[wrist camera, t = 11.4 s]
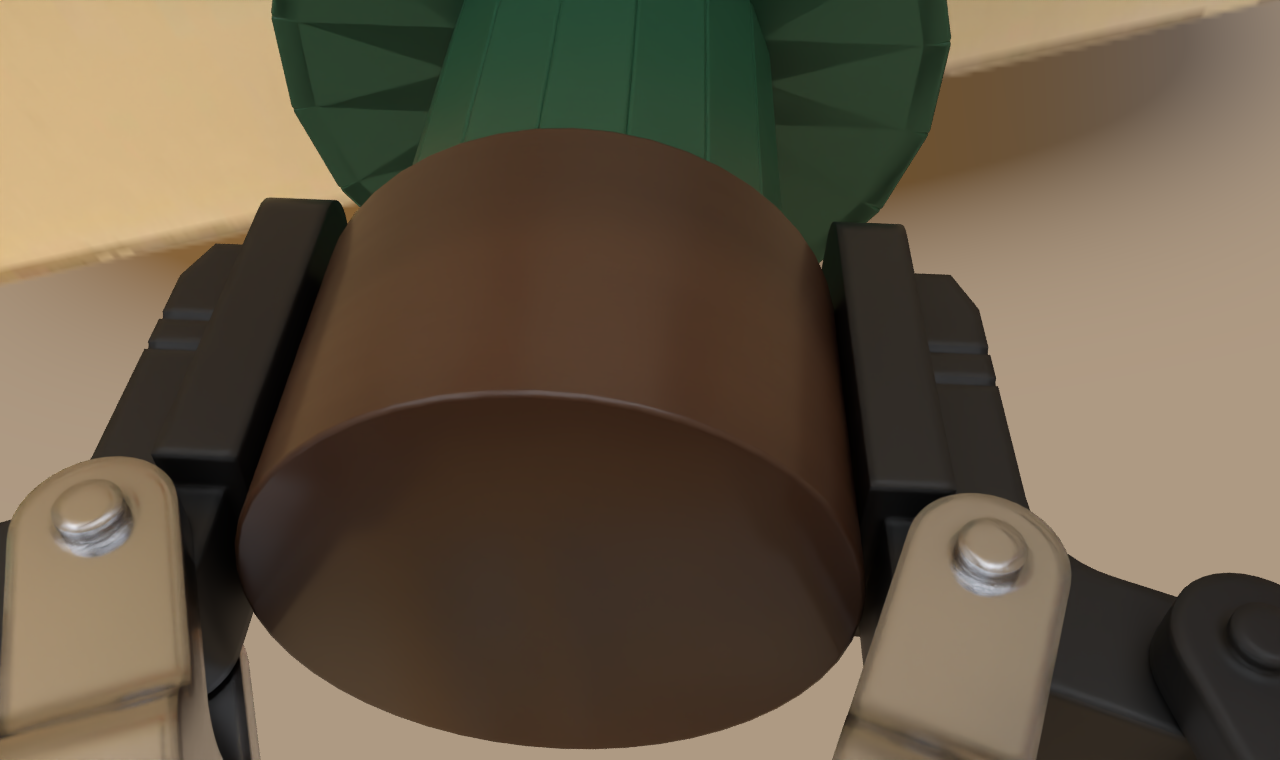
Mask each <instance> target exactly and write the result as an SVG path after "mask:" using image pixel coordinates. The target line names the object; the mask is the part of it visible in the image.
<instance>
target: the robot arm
mask: <svg viewBox="0 0 1280 760" xmlns="http://www.w3.org/2000/svg"><path fill="white" fill-rule="evenodd" d="M346 226H347V220H346V216H345V213H344V209H343V207H342V205H341V204H340V202H339V201H337V200H316V199H291V198H266V199H265V200H264V201H263V202H262V203H261V205H260V207H259V209H258V211H257V213H256V215H255V218H254V220H253V222H252V225H251V227H250V229H249V231H248V234H247V236H246V238H245V240H244V243H243V245H238V244H215V245H214V246H212V247H211V248H210V249H209V250H208V251H207V252H206V253H205V254H204V255H202V256H201V257H200V258H199V259H198V260H197V261H196V262H195V263H193V265H191V266H190V267H189V268H188V269H187V270H186V271H184V272H183V273H182V274H181V275H180V277H179V279H178V281H177V283H176V285H175V287H174V289H173V291H172V294H171V295H170V298H169V300H168V302H167V304H166V306H165V308H164V310H163V319H159V320H158V322H157V324H156V327H155V328H154V331H153V332H152V334H151V337H150V339H149V341H148V343H149V348H148V349H144V351H143V353H142V355H141V357H140V359H139V361H138V363H137V365H136V367H135V370H134V372H133V374H132V376H131V378H130V380H129V382H128V384H127V386H126V388H125V390H124V392H123V395H122V396H121V398H120V400H119V402H118V404H117V406H116V409H115V411H114V413H113V415H112V417H111V419H110V421H109V423H108V425H107V427H106V429H105V431H104V433H103V435H102V437H101V440H100V442H99V444H98V446H97V448H96V450H95V452H94V454H93V456H92V458H91V459H90V460H88V461H84V462H80V463H78V464H75V465H72V466H70V467H68V468H65V469H63V470H61V471H59V472H58V473H56V474H54V475H52V476H51V477H49V478H48V479H46V480H45V481H43V482H42V483H41V484H39V485H38V486H37V487H36V488H35V489H34V490H33V491H31V493H29V494H28V495H27V497H26V498H25V499H24V500H23V501H22V503H21V504H20V505H19V507H18V508H17V510H16V512H15V514H14V515H13V517H12V519H11V520H8V521H5V522H1V523H0V760H260V753H259V744H258V735H257V728H256V719H255V711H254V702H253V694H252V685H251V678H250V669H249V661H248V656H247V652H246V650H245V648H244V645H243V643H244V640H245V637H246V633H247V630H248V627H249V623H250V621H251V618H252V614H253V610H252V608H251V606H250V604H249V602H248V600H247V598H246V596H245V594H244V593H243V589H242V586H241V582H240V579H239V576H238V572H237V568H236V557H235V536H236V531H237V525H238V519H239V516H240V513H241V510H242V507H243V505H244V502H245V499H246V496H247V493H248V490H249V487H250V485H251V482H252V479H253V476H254V473H255V470H256V468H257V465H258V462H259V459H260V456H261V453H262V451H263V448H264V445H265V442H266V439H267V436H268V433H269V431H270V428H271V425H272V422H273V419H274V416H275V414H276V411H277V408H278V405H279V402H280V399H281V397H282V394H283V391H284V388H285V385H286V382H287V380H288V377H289V374H290V371H291V368H292V365H293V362H294V360H295V357H296V354H297V351H298V348H299V345H300V343H301V340H302V337H303V334H304V331H305V328H306V326H307V323H308V320H309V317H310V314H311V311H312V309H313V306H314V303H315V300H316V297H317V294H318V291H319V289H320V286H321V283H322V280H323V277H324V274H325V272H326V269H327V266H328V263H329V260H330V258H331V256H332V253H333V251H334V248H335V246H336V244H337V241H338V239H339V237H340V235H341V233H342V232H343V230H344V229H345V227H346ZM822 271H823V274H824V276H825V278H826V280H827V283H828V287H829V291H830V295H831V299H832V303H833V307H834V315H835V324H836V332H837V341H838V349H839V357H840V366H841V374H842V383H843V391H844V400H845V408H846V416H847V425H848V433H849V442H850V450H851V459H852V467H853V475H854V484H855V492H856V501H857V509H858V518H859V526H860V534H861V543H862V551H863V560H864V568H865V583H866V597H865V603H864V608H863V614H862V618H861V620H860V623H859V625H858V628H857V630H856V632H855V635H854V636H859V637H860V638H861V648H862V658H863V670H862V673H861V676H860V679H859V682H858V685H857V688H856V691H855V694H854V697H853V700H852V704H851V707H850V709H849V712H848V715H847V717H846V720H845V723H844V726H843V729H842V732H841V735H840V738H839V741H838V744H837V747H836V750H835V753H834V756H833V759H832V760H1280V585H1279V584H1277V583H1274V582H1272V581H1269V580H1266V579H1262V578H1260V577H1256V576H1251V575H1246V574H1238V573H1220V574H1212V575H1208V576H1205V577H1202V578H1200V579H1198V580H1195V581H1193V582H1192V583H1190V584H1189V585H1188V586H1186V587H1185V588H1184V589H1183V590H1182V592H1181V593H1180V594H1179V596H1178V597H1175V596H1172V595H1169V594H1166V593H1163V592H1160V591H1156V590H1153V589H1150V588H1147V587H1144V586H1140V585H1138V584H1135V583H1131V582H1128V581H1125V580H1122V579H1119V578H1116V577H1112V576H1110V575H1107V574H1105V573H1102V572H1099V571H1097V570H1095V569H1093V568H1091V567H1088V566H1087V565H1085V564H1083V563H1081V562H1079V561H1078V560H1076V559H1074V558H1073V557H1072V556H1070V555H1069V554H1067V552H1066V549H1065V548H1064V546H1063V544H1062V542H1061V540H1060V539H1059V537H1058V536H1057V535H1056V534H1055V532H1054V531H1053V530H1052V529H1051V528H1050V527H1049V526H1048V525H1047V524H1046V523H1045V522H1044V521H1043V520H1042V519H1040V518H1039V517H1038V516H1037V515H1035V514H1034V513H1033V512H1031V511H1030V509H1029V506H1028V503H1027V500H1026V497H1025V493H1024V489H1023V485H1022V481H1021V477H1020V473H1019V469H1018V465H1017V461H1016V457H1015V453H1014V449H1013V445H1012V441H1011V437H1010V433H1009V429H1008V425H1007V421H1006V416H1005V413H1004V408H1003V404H1002V400H1001V396H1000V392H999V388H998V386H996V385H995V381H996V376H995V372H994V368H993V364H992V361H991V356H990V355H988V344H987V340H986V336H985V332H984V328H983V325H982V320H981V316H980V312H979V309H978V308H977V307H976V305H975V304H974V303H973V302H972V300H971V299H970V298H969V297H968V296H967V294H966V293H965V292H964V291H963V290H962V288H961V287H960V286H959V285H958V283H957V282H956V281H955V280H954V279H953V277H952V276H951V275H939V274H916V273H914V269H913V264H912V259H911V254H910V249H909V243H908V238H907V234H906V230H905V228H904V226H903V225H901V224H880V223H855V222H832V224H831V226H830V229H829V233H828V237H827V242H826V248H825V254H824V259H823V265H822Z"/></svg>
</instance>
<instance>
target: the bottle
mask: <svg viewBox="0 0 1280 760" xmlns="http://www.w3.org/2000/svg"><path fill="white" fill-rule="evenodd" d="M271 13H272V22H273V27H274V31H275V35H276V40H277V44H278V48H279V53H280V57H281V61H282V66H283V70H284V74H285V79H286V83H287V87H288V92H289V96H290V100H291V105H292V107H293V108H294V112H295V114H296V116H297V117H298V119H299V121H300V122H301V124H302V126H303V127H304V129H305V131H306V132H307V134H308V136H309V137H310V139H311V141H312V142H313V144H314V146H315V147H316V149H317V151H318V153H319V154H320V156H321V158H322V159H323V161H324V163H325V164H326V166H327V168H328V169H329V171H330V173H331V174H332V176H333V178H334V179H335V181H336V183H337V184H338V186H339V187H341V189H342V191H343V192H344V193H345V194H346V195H347V196H348V197H349V198H351V199H352V200H353V201H354V202H355V203H356V204H357V205H358V206H359V207H361V206H362V205H363V204H364V203H365V202H366V201H367V200H368V199H369V197H370V196H371V195H372V194H373V193H374V192H375V191H377V190H378V189H379V188H380V187H382V186H383V185H384V184H386V183H387V182H388V181H389V180H391V179H392V178H393V177H395V176H396V175H397V174H398V173H400V172H401V171H403V170H405V169H407V168H409V167H410V166H412V165H414V164H416V163H417V162H419V161H421V160H423V159H424V158H426V157H428V156H430V155H432V154H435V153H437V152H440V151H442V150H445V149H447V148H450V147H452V146H455V145H458V144H460V143H463V142H467V141H470V140H474V139H478V138H482V137H486V136H490V135H494V134H498V133H505V132H513V131H520V130H528V129H536V128H581V129H592V130H602V131H613V132H618V133H623V134H627V135H632V136H637V137H642V138H647V139H651V140H654V141H657V142H660V143H663V144H666V145H669V146H673V147H676V148H679V149H682V150H685V151H688V152H690V153H692V154H694V155H696V156H698V157H700V158H703V159H705V160H707V161H709V162H711V163H713V164H716V165H718V166H720V167H722V168H723V169H725V170H726V171H728V172H730V173H731V174H733V175H735V176H736V177H738V178H739V179H741V180H743V181H744V182H746V183H747V184H749V185H751V186H752V187H753V188H754V189H755V190H757V191H758V192H759V193H760V194H762V195H763V196H764V197H765V198H766V199H768V200H769V201H770V202H771V203H772V204H774V205H775V206H776V207H777V208H778V209H779V210H780V211H781V212H782V213H783V214H784V216H785V217H786V218H787V219H788V220H789V221H790V222H791V223H792V224H793V225H794V226H795V228H796V229H797V230H798V231H799V232H800V234H801V235H802V237H803V238H804V240H805V241H806V243H807V244H808V245H809V247H810V248H811V250H812V251H813V253H814V254H815V256H816V258H817V260H818V263H820V262H821V261H822V260H823V259H824V254H825V248H826V242H827V237H828V233H829V229H830V226H831V224H832V222H855V223H866V222H868V221H869V220H870V219H871V218H872V217H873V216H874V215H876V214H877V213H878V212H879V210H880V209H881V208H882V207H883V206H884V204H885V203H886V201H887V200H888V198H889V196H890V195H891V193H892V192H893V190H894V188H895V187H896V185H897V184H898V182H899V181H900V179H901V177H902V176H903V174H904V173H905V171H906V169H907V168H908V166H909V165H910V163H911V161H912V160H913V158H914V157H915V155H916V154H917V152H918V150H919V149H920V147H921V146H922V144H923V143H924V141H925V139H926V138H927V136H928V133H929V131H930V129H931V125H932V120H933V116H934V112H935V108H936V103H937V99H938V95H939V91H940V87H941V83H942V78H943V74H944V70H945V66H946V62H947V58H948V53H949V49H950V45H951V43H950V39H951V32H950V24H949V15H948V7H947V0H272V9H271Z"/></svg>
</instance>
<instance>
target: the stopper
mask: <svg viewBox="0 0 1280 760" xmlns="http://www.w3.org/2000/svg"><path fill="white" fill-rule="evenodd" d="M235 557H236V568H237V572H238V576H239V579H240V582H241V586H242V589H243V593H244V594H245V596H246V598H247V600H248V602H249V604H250V606H251V608H252V610H253V612H254V613H255V615H256V616H257V618H258V619H259V620H260V622H261V623H262V624H263V626H264V627H265V628H266V629H267V631H268V632H269V634H270V635H271V636H272V637H273V638H274V639H275V640H276V641H277V642H278V643H279V644H280V645H281V646H282V647H283V648H284V649H285V650H286V651H287V652H288V653H289V654H290V655H291V656H293V657H294V658H295V659H296V660H298V661H299V662H300V663H301V664H303V665H304V666H305V667H307V668H308V669H309V670H310V671H312V672H313V673H314V674H316V675H318V676H319V677H321V678H322V679H324V680H326V681H327V682H329V683H330V684H332V685H333V686H335V687H337V688H338V689H340V690H342V691H344V692H346V693H348V694H350V695H352V696H354V697H355V698H357V699H359V700H361V701H363V702H365V703H367V704H370V705H372V706H374V707H377V708H379V709H381V710H384V711H386V712H389V713H391V714H393V715H396V716H399V717H401V718H404V719H407V720H410V721H413V722H416V723H419V724H422V725H425V726H428V727H432V728H436V729H440V730H443V731H447V732H451V733H455V734H458V735H463V736H468V737H473V738H478V739H483V740H488V741H493V742H501V743H508V744H515V745H523V746H534V747H546V748H560V749H607V748H628V747H637V746H645V745H655V744H662V743H668V742H674V741H678V740H685V739H690V738H694V737H698V736H702V735H706V734H710V733H713V732H717V731H721V730H724V729H727V728H730V727H733V726H736V725H739V724H742V723H745V722H747V721H750V720H753V719H755V718H757V717H759V716H761V715H763V714H766V713H768V712H770V711H772V710H774V709H777V708H778V707H780V706H782V705H783V704H785V703H787V702H789V701H790V700H792V699H794V698H795V697H797V696H799V695H800V694H802V693H803V692H804V691H805V690H807V689H808V688H809V687H811V686H812V685H813V684H815V683H816V682H817V681H819V680H820V679H821V678H822V677H823V676H824V675H825V674H826V673H827V672H828V671H829V670H830V669H831V668H832V667H833V666H834V665H835V664H836V663H837V662H838V661H839V659H840V658H841V656H842V655H843V653H844V651H845V650H846V649H847V647H848V646H849V644H850V643H851V642H852V640H853V637H854V635H855V632H856V630H857V628H858V625H859V623H860V620H861V618H862V614H863V608H864V603H865V597H866V583H865V568H864V560H863V551H862V543H861V534H860V526H859V518H858V509H857V501H856V492H855V484H854V475H853V467H852V459H851V450H850V442H849V433H848V425H847V416H846V408H845V400H844V391H843V383H842V374H841V366H840V357H839V349H838V341H837V332H836V324H835V315H834V307H833V303H832V299H831V295H830V291H829V287H828V283H827V280H826V278H825V276H824V274H823V271H822V269H821V267H820V265H819V263H818V260H817V258H816V256H815V254H814V253H813V251H812V250H811V248H810V247H809V245H808V244H807V243H806V241H805V240H804V238H803V237H802V235H801V234H800V232H799V231H798V230H797V229H796V228H795V226H794V225H793V224H792V223H791V222H790V221H789V220H788V219H787V218H786V217H785V216H784V214H783V213H782V212H781V211H780V210H779V209H778V208H777V207H776V206H775V205H774V204H772V203H771V202H770V201H769V200H768V199H766V198H765V197H764V196H763V195H762V194H760V193H759V192H758V191H757V190H755V189H754V188H753V187H752V186H751V185H749V184H747V183H746V182H744V181H743V180H741V179H739V178H738V177H736V176H735V175H733V174H731V173H730V172H728V171H726V170H725V169H723V168H722V167H720V166H718V165H716V164H713V163H711V162H709V161H707V160H705V159H703V158H700V157H698V156H696V155H694V154H692V153H690V152H688V151H685V150H682V149H679V148H676V147H673V146H669V145H666V144H663V143H660V142H657V141H654V140H651V139H647V138H642V137H637V136H632V135H627V134H623V133H618V132H613V131H602V130H592V129H581V128H536V129H528V130H520V131H513V132H505V133H498V134H494V135H490V136H486V137H482V138H478V139H474V140H470V141H467V142H463V143H460V144H458V145H455V146H452V147H450V148H447V149H445V150H442V151H440V152H437V153H435V154H432V155H430V156H428V157H426V158H424V159H423V160H421V161H419V162H417V163H416V164H414V165H412V166H410V167H409V168H407V169H405V170H403V171H401V172H400V173H398V174H397V175H396V176H395V177H393V178H392V179H391V180H389V181H388V182H387V183H386V184H384V185H383V186H382V187H380V188H379V189H378V190H377V191H375V192H374V193H373V194H372V195H371V196H370V197H369V199H368V200H367V201H366V202H365V203H364V204H363V205H362V206H361V207H360V208H359V209H358V210H357V211H356V212H355V214H354V215H353V217H352V218H351V220H350V221H349V223H348V224H347V226H346V227H345V229H344V230H343V232H342V233H341V235H340V237H339V239H338V241H337V244H336V246H335V248H334V251H333V253H332V256H331V258H330V260H329V263H328V266H327V269H326V272H325V274H324V277H323V280H322V283H321V286H320V289H319V291H318V294H317V297H316V300H315V303H314V306H313V309H312V311H311V314H310V317H309V320H308V323H307V326H306V328H305V331H304V334H303V337H302V340H301V343H300V345H299V348H298V351H297V354H296V357H295V360H294V362H293V365H292V368H291V371H290V374H289V377H288V380H287V382H286V385H285V388H284V391H283V394H282V397H281V399H280V402H279V405H278V408H277V411H276V414H275V416H274V419H273V422H272V425H271V428H270V431H269V433H268V436H267V439H266V442H265V445H264V448H263V451H262V453H261V456H260V459H259V462H258V465H257V468H256V470H255V473H254V476H253V479H252V482H251V485H250V487H249V490H248V493H247V496H246V499H245V502H244V505H243V507H242V510H241V513H240V516H239V519H238V525H237V531H236V536H235Z"/></svg>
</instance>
